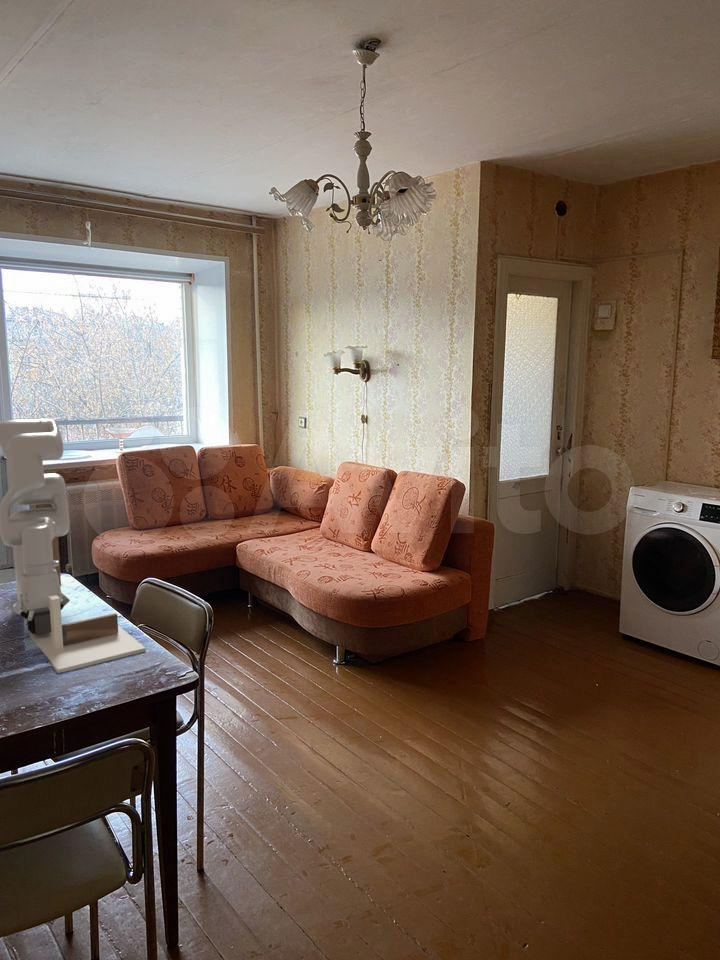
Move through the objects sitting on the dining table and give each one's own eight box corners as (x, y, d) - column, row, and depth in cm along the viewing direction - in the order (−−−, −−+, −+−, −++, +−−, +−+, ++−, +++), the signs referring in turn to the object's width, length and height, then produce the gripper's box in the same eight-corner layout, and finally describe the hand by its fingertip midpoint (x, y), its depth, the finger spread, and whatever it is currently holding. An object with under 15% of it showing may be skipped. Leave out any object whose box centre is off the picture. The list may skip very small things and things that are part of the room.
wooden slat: (62, 644, 191) (60, 624, 190) (116, 631, 200) (115, 613, 199) (63, 645, 190) (62, 626, 189) (118, 633, 199) (117, 614, 198)
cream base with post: (28, 637, 199) (24, 586, 196) (108, 620, 212) (105, 572, 210) (58, 673, 175) (53, 616, 173) (145, 651, 189) (142, 598, 187)
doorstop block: (28, 626, 200) (27, 608, 199) (47, 622, 203) (46, 604, 202) (35, 635, 194) (34, 617, 193) (54, 631, 197) (53, 613, 196)
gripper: (67, 559, 202) (71, 619, 205) (2, 570, 191) (7, 632, 195) (74, 566, 196) (78, 627, 199) (8, 577, 186) (13, 641, 189)
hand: (43, 629), depth 197 cm, fingers closed on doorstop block, 5 cm apart
